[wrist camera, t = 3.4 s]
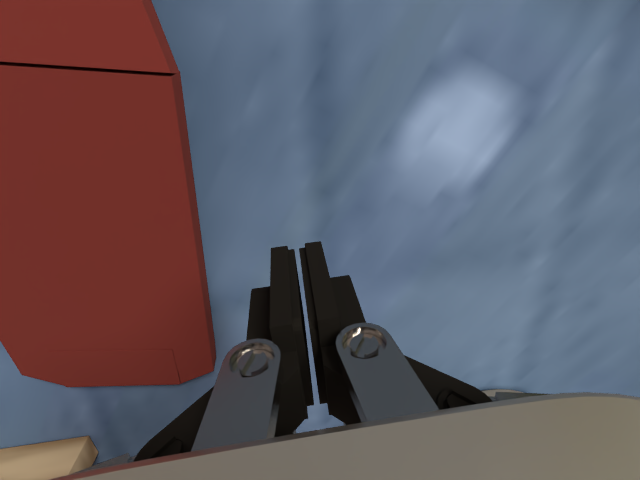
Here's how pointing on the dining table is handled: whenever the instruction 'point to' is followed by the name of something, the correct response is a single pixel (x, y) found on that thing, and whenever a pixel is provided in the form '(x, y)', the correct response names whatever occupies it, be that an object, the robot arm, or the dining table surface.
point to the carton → (97, 199)
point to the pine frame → (47, 459)
